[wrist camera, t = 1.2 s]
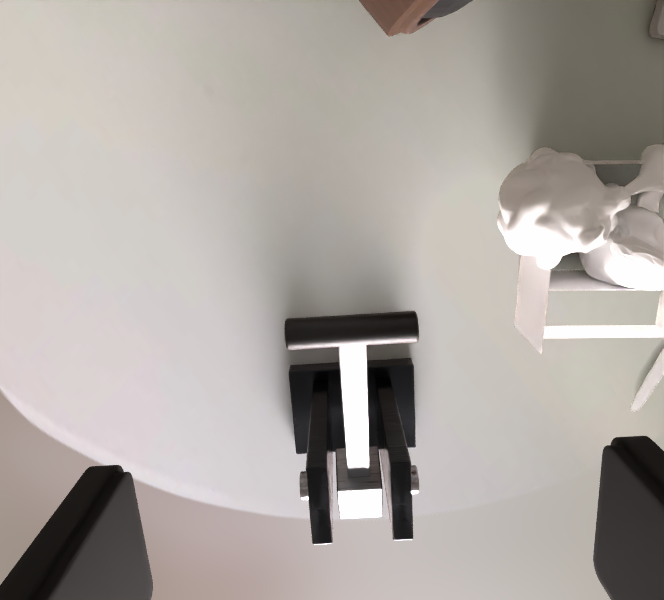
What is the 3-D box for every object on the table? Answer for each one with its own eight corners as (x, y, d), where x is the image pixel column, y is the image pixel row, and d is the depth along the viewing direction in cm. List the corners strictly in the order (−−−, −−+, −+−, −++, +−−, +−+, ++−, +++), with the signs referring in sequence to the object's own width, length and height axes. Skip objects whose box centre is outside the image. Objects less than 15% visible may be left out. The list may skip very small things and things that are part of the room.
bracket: (289, 364, 36) (272, 455, 26) (411, 357, 36) (442, 445, 25) (297, 445, 38) (283, 560, 27) (413, 438, 37) (443, 552, 27)
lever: (285, 302, 21) (283, 345, 20) (413, 294, 21) (422, 337, 19) (312, 478, 30) (312, 520, 28) (403, 473, 30) (409, 515, 28)
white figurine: (471, 326, 35) (507, 374, 28) (484, 131, 32) (529, 127, 24) (674, 325, 35) (763, 373, 28) (708, 129, 32) (820, 125, 24)
